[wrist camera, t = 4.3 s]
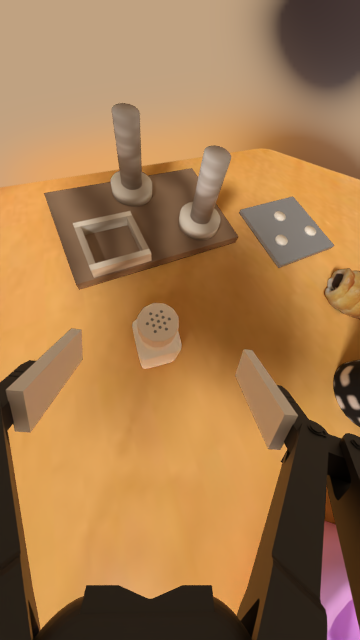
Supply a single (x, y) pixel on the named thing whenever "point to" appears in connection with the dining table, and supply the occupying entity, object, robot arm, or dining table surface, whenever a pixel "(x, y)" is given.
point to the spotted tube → (348, 389)
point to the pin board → (140, 212)
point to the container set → (336, 590)
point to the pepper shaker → (157, 335)
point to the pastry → (345, 291)
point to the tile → (285, 230)
